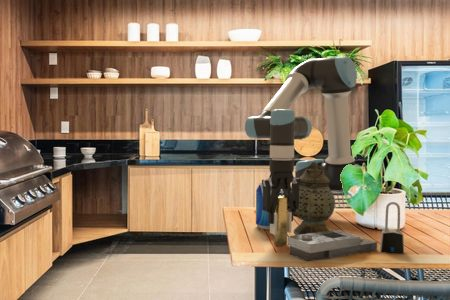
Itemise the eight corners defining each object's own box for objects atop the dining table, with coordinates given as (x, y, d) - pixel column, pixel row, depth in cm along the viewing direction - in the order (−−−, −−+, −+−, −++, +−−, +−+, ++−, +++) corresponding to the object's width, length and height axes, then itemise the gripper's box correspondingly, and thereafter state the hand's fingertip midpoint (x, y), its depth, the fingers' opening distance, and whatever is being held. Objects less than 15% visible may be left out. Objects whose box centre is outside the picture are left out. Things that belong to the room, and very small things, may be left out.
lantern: (340, 232, 160) (342, 161, 159) (321, 240, 149) (322, 164, 148) (305, 226, 169) (307, 159, 168) (284, 233, 159) (286, 161, 157)
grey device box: (352, 242, 147) (353, 224, 147) (376, 250, 138) (377, 231, 138) (287, 253, 134) (287, 233, 134) (309, 262, 126) (309, 241, 125)
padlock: (402, 250, 138) (404, 201, 137) (404, 254, 134) (406, 203, 133) (379, 248, 140) (380, 200, 139) (380, 252, 136) (381, 202, 135)
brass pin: (281, 242, 147) (282, 195, 146) (289, 245, 143) (290, 197, 142) (271, 243, 145) (272, 196, 144) (279, 246, 141) (279, 198, 141)
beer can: (277, 230, 163) (278, 185, 162) (254, 229, 165) (254, 185, 164) (279, 225, 171) (280, 183, 171) (257, 224, 173) (257, 182, 172)
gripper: (297, 157, 150) (295, 227, 152) (250, 159, 142) (250, 233, 143) (312, 159, 144) (310, 232, 145) (264, 160, 135) (263, 238, 136)
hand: (280, 232), depth 144 cm, fingers open, 5 cm apart
